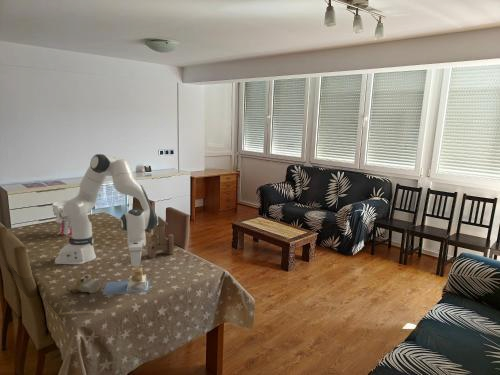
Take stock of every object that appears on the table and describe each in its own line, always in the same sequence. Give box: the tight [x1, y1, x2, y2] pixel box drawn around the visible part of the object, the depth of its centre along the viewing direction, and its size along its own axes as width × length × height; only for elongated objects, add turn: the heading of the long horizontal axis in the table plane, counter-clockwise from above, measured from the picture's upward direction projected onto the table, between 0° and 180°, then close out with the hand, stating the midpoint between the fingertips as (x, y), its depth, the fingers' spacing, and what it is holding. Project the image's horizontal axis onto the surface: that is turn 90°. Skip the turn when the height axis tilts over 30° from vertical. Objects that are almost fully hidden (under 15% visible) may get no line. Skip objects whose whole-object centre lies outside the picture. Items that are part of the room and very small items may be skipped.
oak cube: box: [130, 266, 144, 281], centre depth 182 cm, size 5×5×5 cm
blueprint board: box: [101, 279, 151, 296], centre depth 182 cm, size 22×14×1 cm, turn 103°
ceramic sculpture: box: [66, 275, 100, 294], centre depth 177 cm, size 11×9×15 cm
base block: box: [128, 274, 147, 290], centre depth 183 cm, size 8×8×4 cm
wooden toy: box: [146, 215, 174, 259], centre depth 227 cm, size 16×7×25 cm, turn 122°
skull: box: [52, 199, 72, 237], centre depth 259 cm, size 25×19×23 cm
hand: (137, 267), depth 181 cm, fingers closed
